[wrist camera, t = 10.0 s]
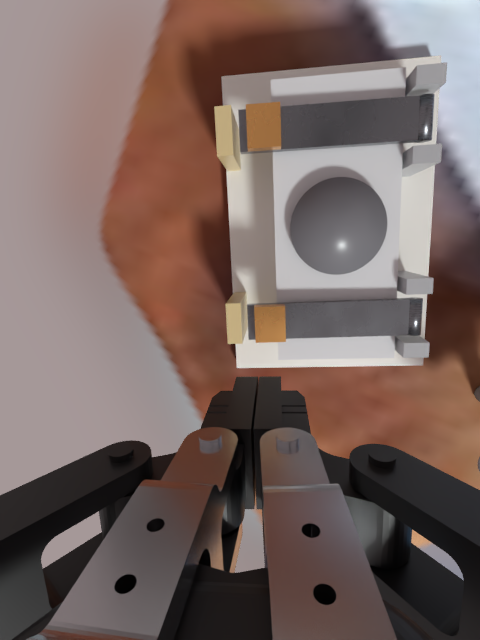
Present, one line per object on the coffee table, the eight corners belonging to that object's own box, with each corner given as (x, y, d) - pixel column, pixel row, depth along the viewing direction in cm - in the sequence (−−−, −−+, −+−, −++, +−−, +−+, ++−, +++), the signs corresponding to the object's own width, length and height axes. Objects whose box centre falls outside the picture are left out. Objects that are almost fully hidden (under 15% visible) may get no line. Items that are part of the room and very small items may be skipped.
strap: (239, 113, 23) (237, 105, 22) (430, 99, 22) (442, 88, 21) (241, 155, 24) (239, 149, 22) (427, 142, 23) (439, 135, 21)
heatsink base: (223, 83, 28) (208, 38, 21) (433, 63, 26) (483, 9, 20) (238, 363, 32) (229, 393, 26) (417, 360, 31) (453, 391, 25)
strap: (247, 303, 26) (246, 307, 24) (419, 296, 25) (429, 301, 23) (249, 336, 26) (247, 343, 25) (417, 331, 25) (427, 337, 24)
